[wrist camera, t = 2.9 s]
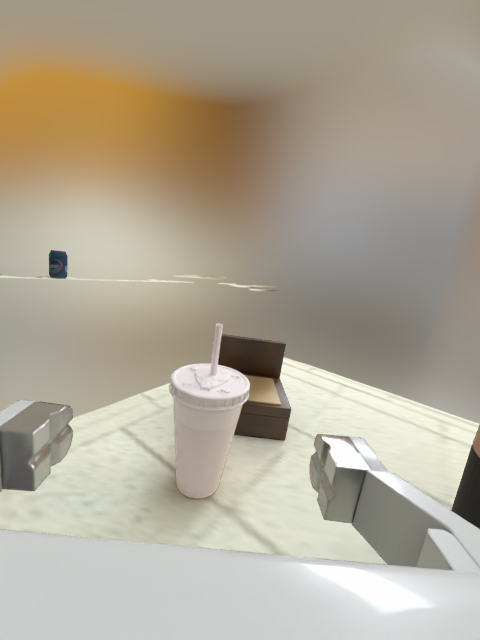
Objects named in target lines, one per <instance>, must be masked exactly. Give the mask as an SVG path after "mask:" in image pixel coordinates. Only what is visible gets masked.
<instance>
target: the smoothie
mask: <svg viewBox="0 0 480 640" xmlns="http://www.w3.org/2000/svg"><path fill="white" fill-rule="evenodd" d="M222 328H223V325H222V324H216V328H215V335H214V344H213V351H212V359H211V364H191V365H186V366H183V367H181V368H179V369H177V370H176V371H174V372H173V374H172V376H171V383H170V385H169V391H170V393H171V395H172V396H173V397H174V425H175V453H176V481H177V487H178V489H179V490H180V492H181V493H182V494H184V495H185V496H187V497H190V498H194V499H202V498H206V497H208V496H210V495H212V494H213V493H214V492H215V491H216V490H217V488H218V486H219V483H220V479H221V476H222V472H223V469H224V466H225V462H226V459H227V456H228V452H229V449H230V445H231V442H232V439H233V435H234V432H235V429H236V425H237V422H238V419H239V416H240V412H241V408H242V405H243V404H244V403H245V402H246V401H247V400H248V398H249V388H250V382H249V380H248V379H247V378H246V377H245V376H244V375H243V374H242V373H240V372H238V371H237V370H234V369H232V368H229V367H226V366H221V365H218V358H219V351H220V343H221V336H222Z"/></svg>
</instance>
